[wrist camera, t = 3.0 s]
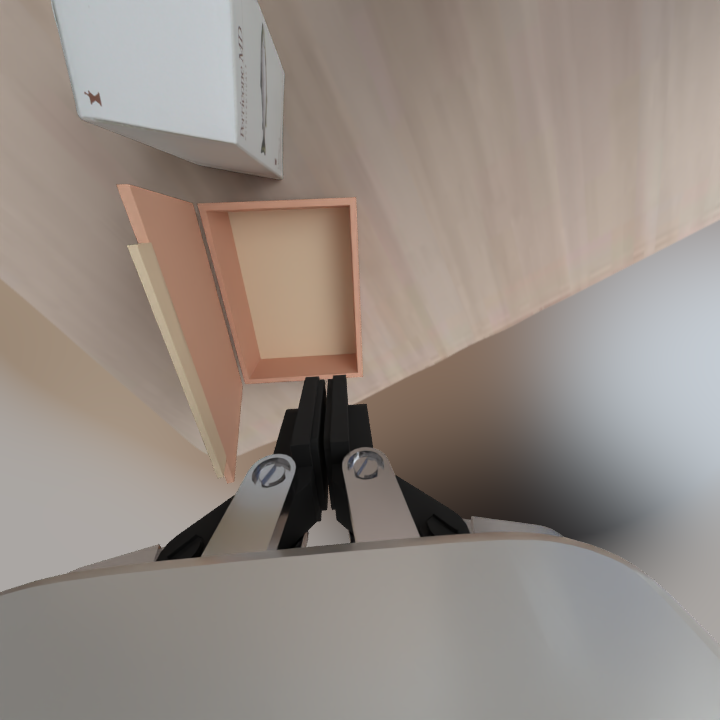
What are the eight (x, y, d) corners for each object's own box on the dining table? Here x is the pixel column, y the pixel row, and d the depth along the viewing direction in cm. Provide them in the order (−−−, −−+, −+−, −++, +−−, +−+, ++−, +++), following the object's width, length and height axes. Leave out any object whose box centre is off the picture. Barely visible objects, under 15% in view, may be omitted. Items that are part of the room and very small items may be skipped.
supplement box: (285, 182, 25) (238, 152, 14) (197, 166, 24) (69, 119, 13) (288, 71, 22) (230, -89, 10) (187, 47, 21) (3, -156, 9)
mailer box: (353, 201, 26) (356, 197, 21) (360, 355, 33) (363, 376, 29) (222, 206, 25) (197, 203, 21) (258, 361, 33) (245, 384, 28)
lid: (112, 179, 9) (97, 179, 9) (232, 500, 16) (225, 502, 16) (192, 203, 20) (186, 203, 20) (242, 386, 28) (238, 387, 28)
